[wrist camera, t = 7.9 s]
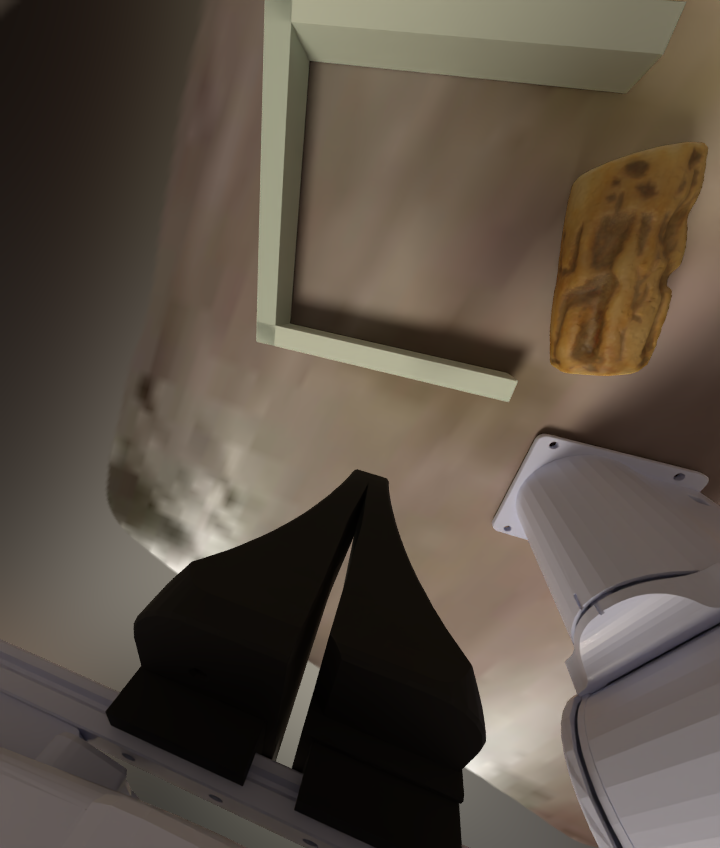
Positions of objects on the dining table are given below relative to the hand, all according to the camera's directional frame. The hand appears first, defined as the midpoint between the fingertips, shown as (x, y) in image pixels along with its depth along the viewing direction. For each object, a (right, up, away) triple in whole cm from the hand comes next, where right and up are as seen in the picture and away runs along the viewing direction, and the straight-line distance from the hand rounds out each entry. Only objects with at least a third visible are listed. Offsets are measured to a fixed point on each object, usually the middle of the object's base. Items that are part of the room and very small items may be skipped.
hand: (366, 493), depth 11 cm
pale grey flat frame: (+2, +13, +4) cm, 14 cm away
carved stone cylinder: (+12, +10, +3) cm, 16 cm away
